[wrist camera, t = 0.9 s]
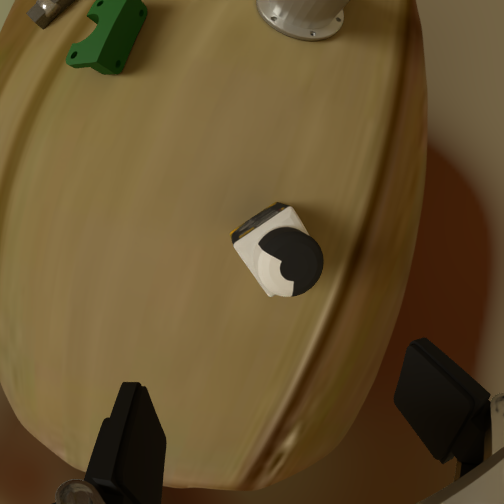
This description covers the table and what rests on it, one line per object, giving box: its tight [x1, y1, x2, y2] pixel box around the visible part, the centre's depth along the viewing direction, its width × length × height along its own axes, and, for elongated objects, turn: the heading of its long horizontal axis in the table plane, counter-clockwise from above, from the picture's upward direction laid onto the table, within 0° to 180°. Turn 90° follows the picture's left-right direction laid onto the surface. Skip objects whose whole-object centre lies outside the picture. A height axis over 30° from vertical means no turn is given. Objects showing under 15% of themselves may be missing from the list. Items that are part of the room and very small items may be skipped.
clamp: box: [66, 0, 147, 75], centre depth 25 cm, size 12×6×9 cm, turn 159°
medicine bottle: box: [230, 202, 324, 297], centre depth 31 cm, size 7×7×12 cm
